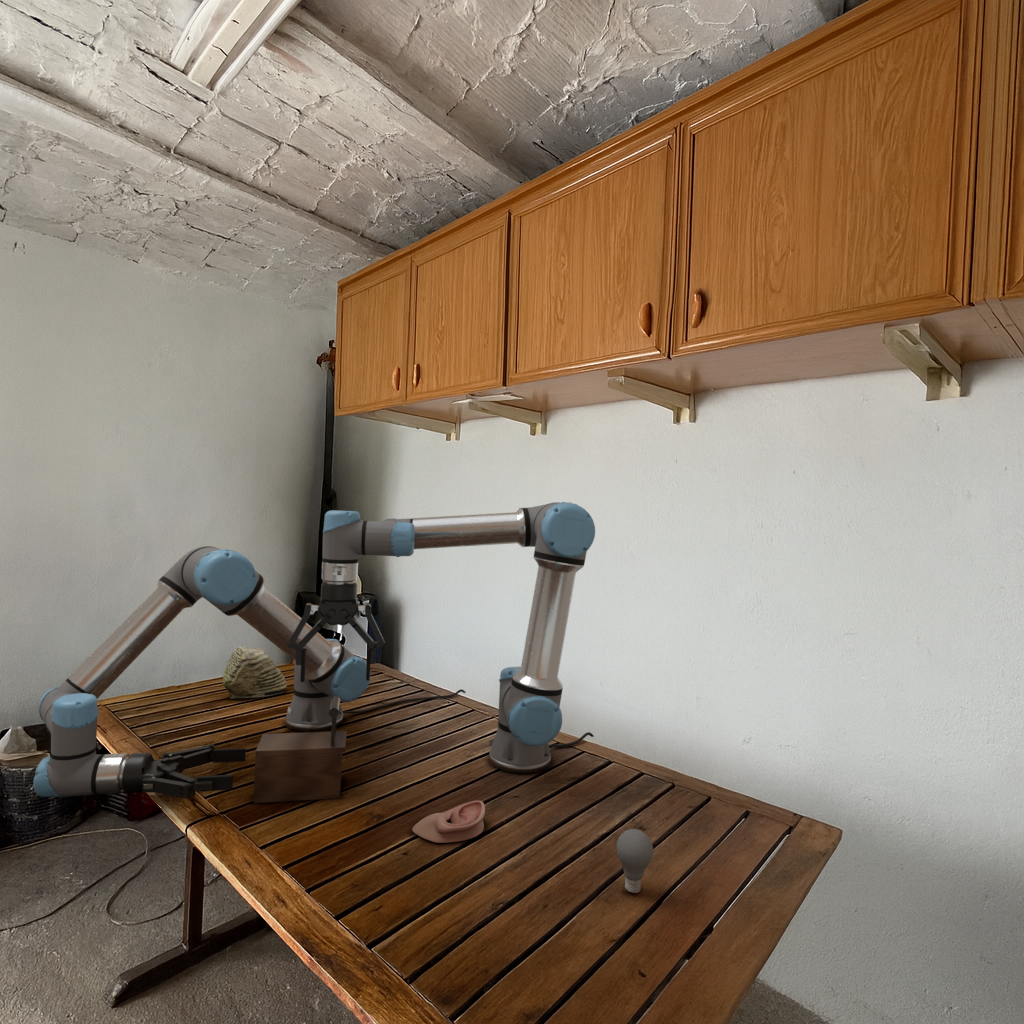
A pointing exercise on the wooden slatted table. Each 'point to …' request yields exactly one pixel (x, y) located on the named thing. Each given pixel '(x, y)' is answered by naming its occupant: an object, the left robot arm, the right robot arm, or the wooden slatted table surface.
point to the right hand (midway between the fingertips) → (335, 679)
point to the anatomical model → (453, 823)
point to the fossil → (252, 674)
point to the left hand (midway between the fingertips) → (239, 767)
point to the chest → (297, 777)
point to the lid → (305, 739)
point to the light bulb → (634, 857)
